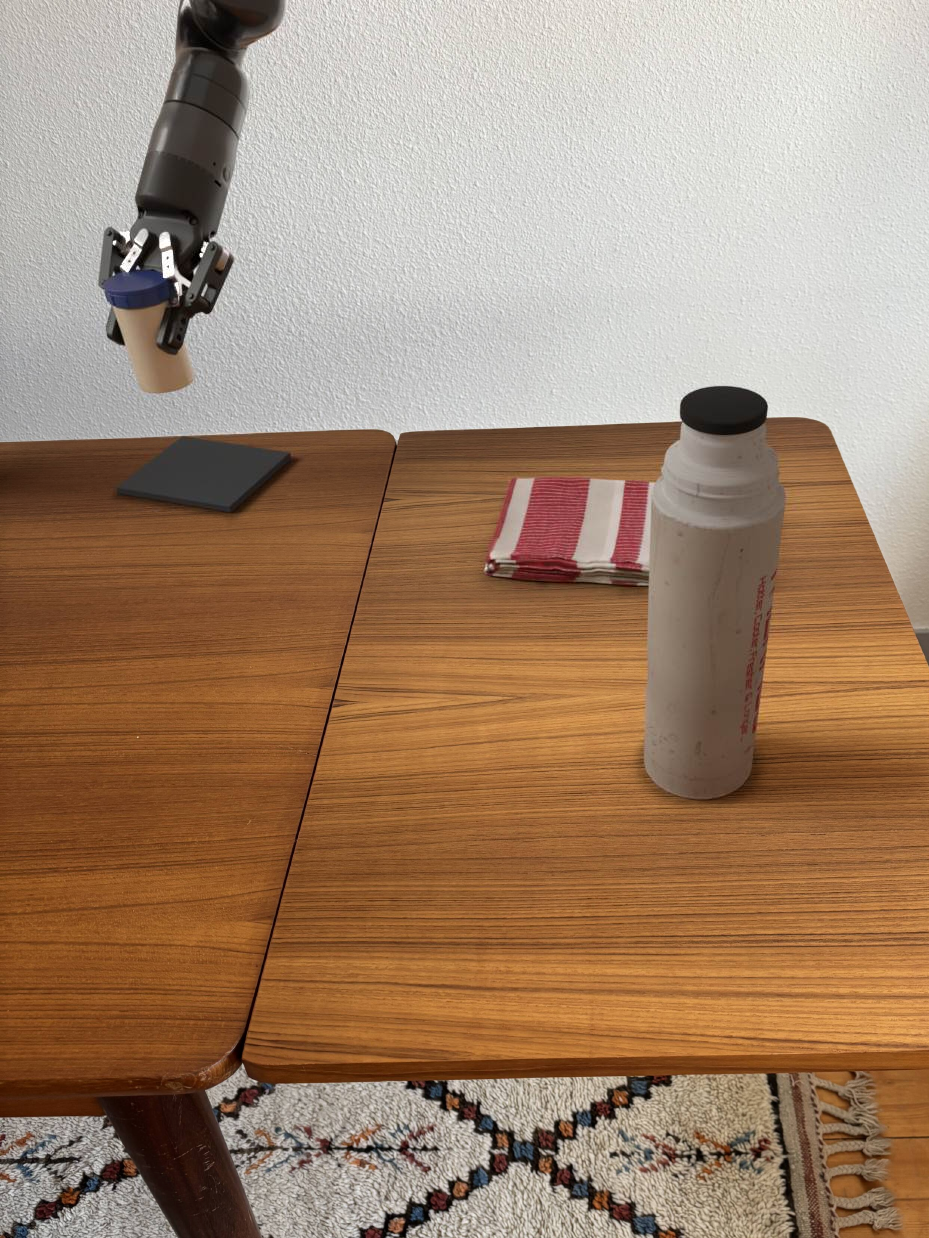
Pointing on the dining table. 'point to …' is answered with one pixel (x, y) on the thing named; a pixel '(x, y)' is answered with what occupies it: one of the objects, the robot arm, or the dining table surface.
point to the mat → (205, 474)
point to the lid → (136, 289)
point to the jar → (152, 350)
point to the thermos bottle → (711, 593)
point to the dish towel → (573, 531)
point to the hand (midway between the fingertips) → (141, 346)
